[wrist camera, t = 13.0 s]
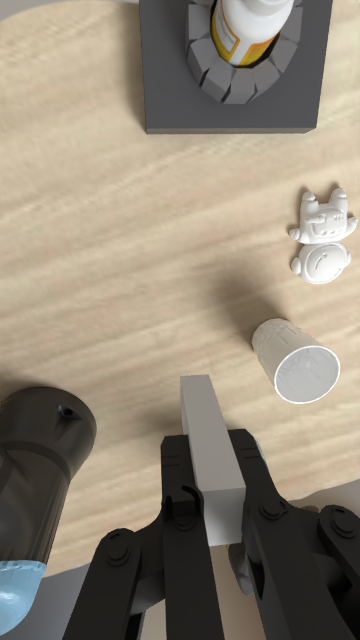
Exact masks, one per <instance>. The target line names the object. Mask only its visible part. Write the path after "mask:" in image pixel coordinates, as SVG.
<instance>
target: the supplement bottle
mask: <svg viewBox="0 0 360 640" xmlns="http://www.w3.org/2000/svg"><path fill="white" fill-rule="evenodd" d="M293 2H294V0H218V1H217V4H216V7H215V10H214V13H213V16H212V20H211V23H210V36H211V39H212V41H213V44H214V46H215V48H216V51H217V53H218V55H219V57H220V58H222V59H223V60H224V61H226V62H227V63H228V64H230V65H231V66H232V67H233V68H245V69H251V68H252V67H253V66H254V65H255V63H256V62H257V61H258V59H259V58H260V57H261V55H262V54H263V53H264V51H265V50H266V48H267V47H268V46H269V44H270V43H271V42H272V40H273V39H274V38H275V36H276V35H277V34H278V32H279V31H280V29H281V28H282V27H283V25H284V23H285V22H286V20H287V18H288V16H289V14H290V12H291V9H292V6H293Z"/></svg>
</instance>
